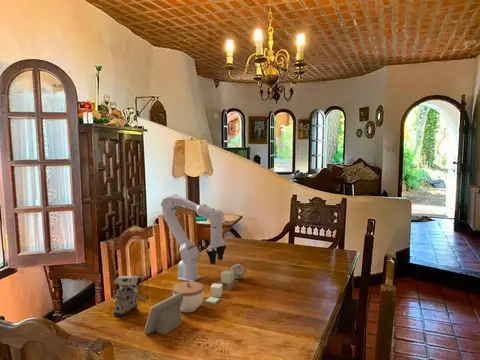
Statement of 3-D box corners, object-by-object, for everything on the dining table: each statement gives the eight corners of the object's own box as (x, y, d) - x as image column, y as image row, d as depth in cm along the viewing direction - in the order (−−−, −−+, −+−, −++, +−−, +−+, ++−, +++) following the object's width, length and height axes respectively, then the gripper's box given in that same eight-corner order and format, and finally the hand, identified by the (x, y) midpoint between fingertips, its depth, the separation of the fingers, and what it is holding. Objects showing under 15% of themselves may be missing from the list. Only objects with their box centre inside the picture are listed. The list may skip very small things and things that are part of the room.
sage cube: (221, 281, 166) (221, 272, 166) (225, 278, 170) (225, 269, 170) (229, 283, 164) (229, 274, 164) (234, 280, 168) (234, 271, 168)
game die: (239, 287, 176) (243, 276, 169) (224, 280, 177) (227, 268, 171) (245, 274, 182) (249, 262, 176) (231, 267, 184) (234, 255, 178)
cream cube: (210, 296, 155) (210, 287, 155) (212, 292, 159) (212, 283, 159) (220, 297, 154) (220, 287, 154) (222, 293, 159) (222, 283, 158)
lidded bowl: (178, 318, 135) (177, 290, 134) (168, 305, 146) (168, 279, 145) (208, 311, 140) (208, 284, 140) (197, 299, 152) (197, 275, 151)
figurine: (134, 320, 133) (133, 282, 132) (110, 315, 137) (109, 277, 136) (149, 310, 141) (148, 274, 140) (126, 305, 145) (125, 270, 144)
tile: (202, 302, 149) (202, 300, 149) (209, 297, 154) (209, 295, 154) (215, 305, 146) (215, 303, 146) (221, 299, 152) (221, 298, 152)
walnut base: (217, 288, 165) (217, 282, 165) (224, 283, 172) (224, 277, 171) (230, 291, 162) (230, 285, 162) (237, 286, 168) (237, 280, 168)
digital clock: (176, 315, 137) (175, 289, 136) (190, 323, 131) (190, 295, 130) (139, 331, 125) (138, 302, 124) (153, 340, 119) (152, 309, 118)
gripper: (216, 238, 164) (216, 267, 165) (230, 232, 177) (230, 258, 178) (203, 237, 167) (203, 265, 168) (217, 231, 180) (218, 257, 181)
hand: (216, 261), depth 173 cm, fingers open, 7 cm apart
